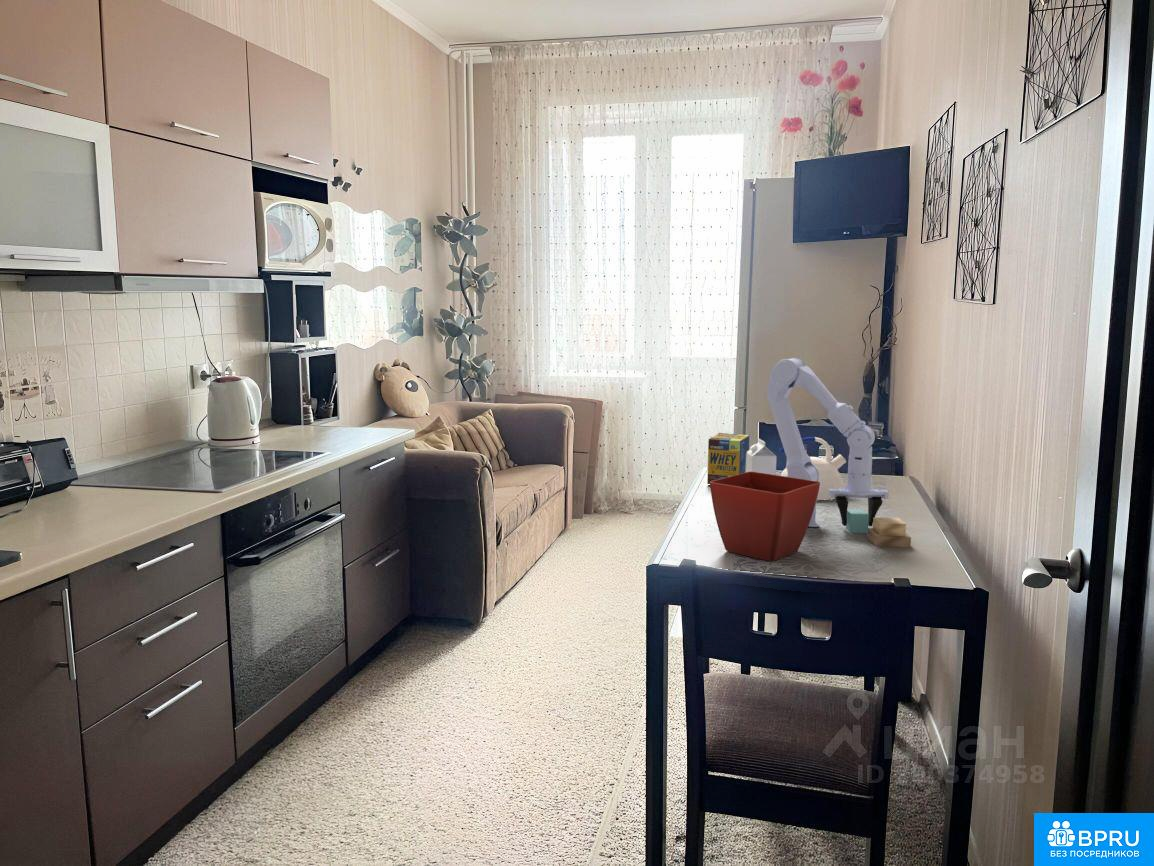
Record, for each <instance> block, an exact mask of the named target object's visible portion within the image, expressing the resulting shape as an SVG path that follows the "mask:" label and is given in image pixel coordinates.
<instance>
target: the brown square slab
mask: <svg viewBox="0 0 1154 866" xmlns="http://www.w3.org/2000/svg"><path fill="white" fill-rule="evenodd" d="M867 539H868V540H869V541H870V542H871V543H872V544H873V545H874V546H875V547H879V548H880V547H881V548H884V547H885V548H889V547H890V548H911V545H912V544H911V543H912V541H911V540H912V536H910V535H909V534H908V533H905V536H880V535H879V534H878V533H876V532H875V531H874V530H873V527H868V533H867Z"/></svg>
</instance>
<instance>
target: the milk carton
mask: <svg viewBox="0 0 1154 866" xmlns="http://www.w3.org/2000/svg"><path fill="white" fill-rule="evenodd" d="M777 457H778V456H777V455H776V454H775V453H774V452H773V451H771V450H770V449H769V448H768V447H767V446H766V442H765V441H764V440H762V439H761V438H758V442H757V443H754V444H753V445H751V446H749V451H748V452H747V457H746V472H759V473H765V474H772V475H777Z"/></svg>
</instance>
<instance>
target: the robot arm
mask: <svg viewBox="0 0 1154 866" xmlns="http://www.w3.org/2000/svg"><path fill="white" fill-rule="evenodd" d="M769 376H770V379H769V381H768V387H767V391H766V397H767V401H768V404H769V407H770V410H771V413H772V416H773V420H774V422H775V425H776V428H777V432H778V435H779V438H780V440H781V441H780V442H781V444H782V447H783V448H784V451H785V452H784V454H785V456H786V465H785V468H787V471H788V476H787V477H791V478H798V479H804V480H810V481H818V479H819V472H818V470H817V468H816V467H815V466H814V465H813V464H812V462H811V459H810V457H811V456H809V454H808V453H807V452H806V448H805V446H804V442H802V439H801V438H802V436H801V433H800V430H799V427H798V424H797V421H796V417H795V415H794V412H793V408H792V406H791V402H790V399H789V395H790V394H791V392H792V391H793V388H794V386H796V387H799V388H803V389H806V390H807V391H808V392H809V393H811V395H812V396H813V397H814V398H815V399H816V400H817V401H818V402H819V403H820V404H821V405H822V406H823V407H824V408H825V409H826V410H827V419H828V420H829V421H830V422H831V423H832V424H833V426H835V427H836V429H837V430H838V431H839V433H841V434H842V435H843V437H846V442H847V444H848V447H849V455H848V463H847V465H848V466H847V467H848V468H847V483H846V484H847V485H846V486H847V487H844V488H843V489H829V497H830V498H835V500H834V501H835V502H836V504H837V505H836V506H837V507H838V511H839V515H840V518H841V525H842V526H843V527H844V526H845V527H846V525H847V510H848V508H849V507H848V506H849V501H848V498H853V499H854V498H855V499H856V498H857V499H858V498H859V499H861V498H862V499H867V505H868V506H867V508H868V510H867V513H868V514H869V522H868V527H873V518H876V515H877V514H878V511H879V510H880V508H881V506H882V504H883V499H884V500H888V499H889V497H890V495H889V493H890V492H889V491H888V490H887V489H874V488H872V472H873V468H872V466H873V446H872V445H873V444H874V442H875V441H876V440H875V439H876V434H875V432H874V430H873V428H872V427H871V426H869V425H866V424H867V423H866V422H865V420H861V419H860V417H859V416H858V415H857V414H856V413H855V412H854V411H853V410H854V407H853V406H852V405H851V404H850V405H848V404H847V403H845V402H838V400H837V399H836V398H835V397H834V395H833V394H832V393H831V391H829V389H828V388H827V387H826V386H825V384H824V383H823V382H822V381H821V380H820V378H819V377H818V376H817V375H816V374H815V372H814V371H813V370H812V369H811V368H810V367H809V366H808V365H806V364H805V362H804V361H803V360H802V359H800V358H797V357H791V358H784V359H781V360H778V361H777V362H776V363H775V365H773V368H772V369H771V370H770V372H769ZM816 512H817V503H816V504H815V507H814V511H813V514H812V517H811V520H810V523H809V526H808V528H819V527H820V524H819V523H818V522H817V520H816V518H817V513H816Z"/></svg>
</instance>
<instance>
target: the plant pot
mask: <svg viewBox="0 0 1154 866" xmlns="http://www.w3.org/2000/svg"><path fill="white" fill-rule="evenodd" d="M819 487H820V482H817V481H810V480H804V479H798V478H791V477H785V476H781V475H777V474H776V475H772V474H765V473H759V472H745V473H741V474H737V475H733V476H729V477H725V478H721V479H717V480H713V481H710V486H709V488H710V495H711V500H712V501H711V502H712V507H713V508H712V509H713V512H714V517H715V520H716V524H717V528H718V533H719V536H720V538H721V541H722V544H723V547H724V549H725V551H726V552H729V553H734V554H738V555H742V556H747V557H749V558H754V559H758V560H759V559H760V560H763V561H767V562H775V561H777V560H780V559H782V558H784V557H787V556H789V555H790V556H791V555H792V554H794V553H796V552H798V551H799V549H800V547H801V545H802V543H803V540H804V538H805V536H806V533H807V530H808V528H809V527H808V526H809V523H810V520H811V517H812V514H813V511H814V507H815V504H816V505H817V501H816V500H817V496H818V492H819Z"/></svg>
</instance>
